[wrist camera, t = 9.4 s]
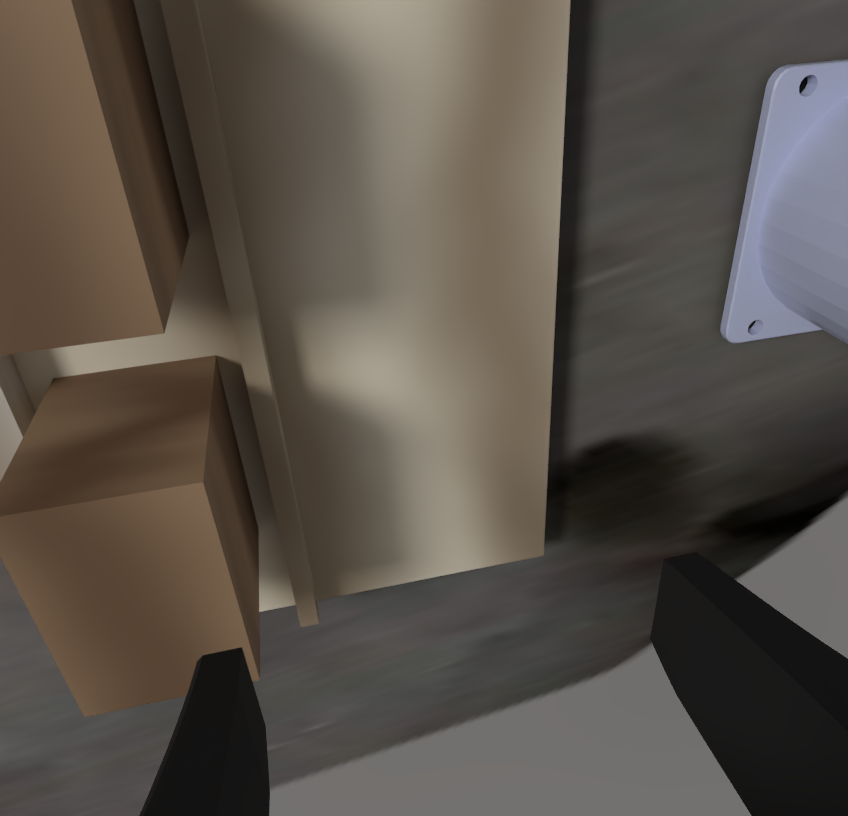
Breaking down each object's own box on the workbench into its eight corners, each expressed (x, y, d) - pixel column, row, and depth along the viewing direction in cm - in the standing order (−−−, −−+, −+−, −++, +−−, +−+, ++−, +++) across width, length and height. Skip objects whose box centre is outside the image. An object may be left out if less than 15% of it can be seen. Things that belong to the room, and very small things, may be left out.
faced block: (215, 355, 18) (203, 482, 13) (258, 529, 21) (260, 680, 16) (47, 379, 17) (-27, 521, 13) (117, 554, 20) (78, 718, 16)
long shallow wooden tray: (581, -853, 10) (659, -1054, 8) (532, 533, 25) (556, 579, 23) (-622, -993, 8) (-905, -1312, 6) (98, 616, 23) (84, 676, 21)
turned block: (115, -76, 13) (41, -108, 8) (189, 235, 16) (164, 333, 12) (-124, -64, 12) (-346, -94, 8) (1, 257, 16) (-104, 369, 11)
